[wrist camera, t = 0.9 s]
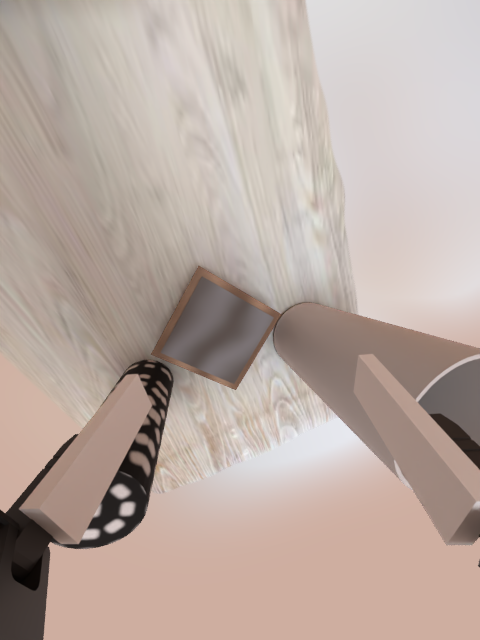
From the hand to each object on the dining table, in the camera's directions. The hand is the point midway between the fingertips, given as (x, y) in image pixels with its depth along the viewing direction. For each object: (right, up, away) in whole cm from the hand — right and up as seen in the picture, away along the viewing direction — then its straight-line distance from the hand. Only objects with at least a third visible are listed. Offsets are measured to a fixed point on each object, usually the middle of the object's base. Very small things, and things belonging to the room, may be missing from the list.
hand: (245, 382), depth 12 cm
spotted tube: (-16, -7, +23) cm, 29 cm away
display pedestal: (-5, +3, +23) cm, 24 cm away
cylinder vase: (+12, +1, +27) cm, 30 cm away
